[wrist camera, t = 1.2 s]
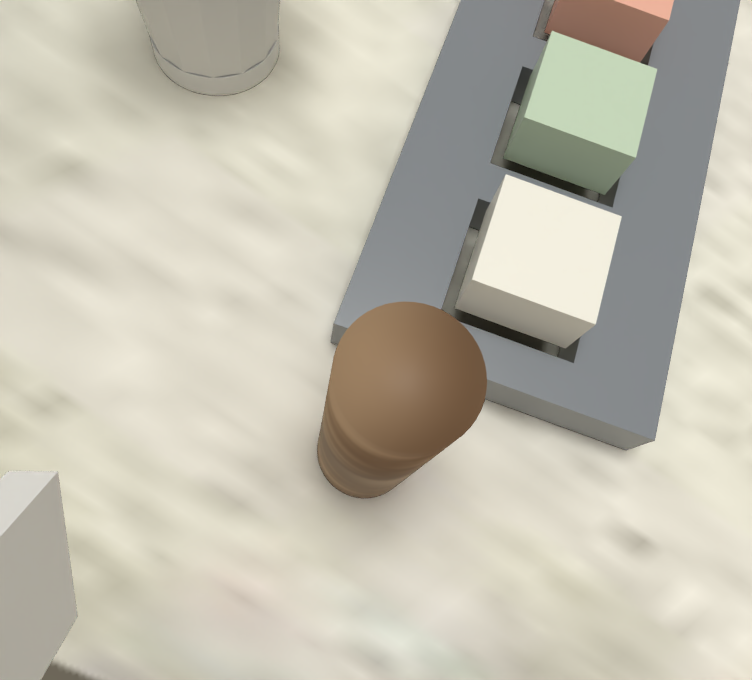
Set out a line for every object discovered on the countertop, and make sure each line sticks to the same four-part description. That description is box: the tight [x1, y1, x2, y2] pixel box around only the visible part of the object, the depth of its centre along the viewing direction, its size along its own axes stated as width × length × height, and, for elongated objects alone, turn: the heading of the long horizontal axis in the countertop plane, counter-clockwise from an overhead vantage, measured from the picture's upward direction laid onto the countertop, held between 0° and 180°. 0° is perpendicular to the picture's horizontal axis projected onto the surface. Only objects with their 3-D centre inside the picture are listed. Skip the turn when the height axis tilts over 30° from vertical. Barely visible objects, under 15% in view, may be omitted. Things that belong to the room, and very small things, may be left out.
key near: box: [454, 174, 622, 348], centre depth 27 cm, size 5×5×3 cm
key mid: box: [503, 31, 657, 195], centre depth 30 cm, size 5×5×3 cm
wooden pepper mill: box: [317, 302, 487, 498], centre depth 22 cm, size 4×4×12 cm
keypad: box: [331, 0, 740, 450], centre depth 33 cm, size 14×26×2 cm, turn 161°
